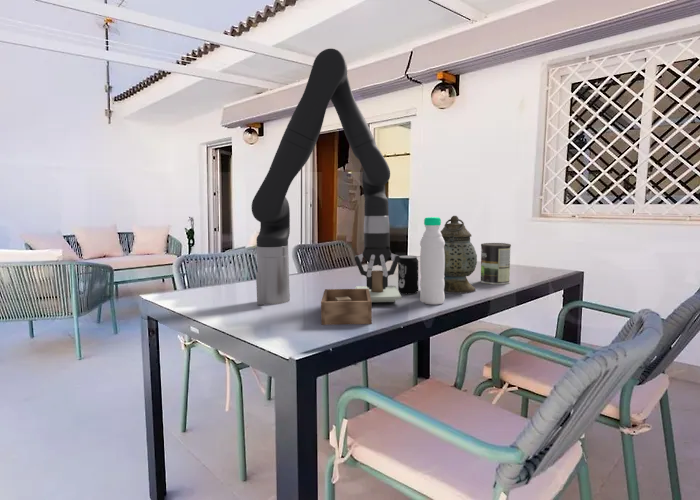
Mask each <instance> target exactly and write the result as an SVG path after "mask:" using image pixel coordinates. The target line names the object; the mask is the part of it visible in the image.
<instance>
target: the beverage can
mask: <svg viewBox="0 0 700 500" xmlns="http://www.w3.org/2000/svg"><path fill="white" fill-rule="evenodd" d="M399 257H400V259H399V261H398V264H397V269H398V270H397V271H398V272H397V276H398V277H397V278H398V279H397V282H398V283H397V284H398V285H397V289H398V291H399V293H400V294H403V295H416V294H417V293H418V292H419V259H418V256H417V255H411V254H410V255H399Z"/></svg>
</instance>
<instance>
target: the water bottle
mask: <svg viewBox="0 0 700 500" xmlns="http://www.w3.org/2000/svg"><path fill="white" fill-rule="evenodd" d="M441 223H442V220H441V218H440V217H439V216H438V217H433V216H431V217H424V220H423V224H424V227H425V230H424V232H423V235H422V237H421V238H420V241H419V242H420V243H419V245H420V258H419V259H420V261H419V263H420V264H419V266H420V270H419V273H420V282H419V286H420V293H419V300H420V302H422V304H424V305H431V306H437V305H438V306H439V305H441V304H443V303H444V302H445V293H444V286H445V282H444V277H445V276H444V270H445V253H444V246H445V241H444V239H443V237H442V234H441V232H440V231H441V230H440V228H441Z"/></svg>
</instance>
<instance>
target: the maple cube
mask: <svg viewBox="0 0 700 500" xmlns="http://www.w3.org/2000/svg"><path fill="white" fill-rule="evenodd" d="M335 301H351V298H349V297H348V296H347V297H335Z"/></svg>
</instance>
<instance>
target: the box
mask: <svg viewBox="0 0 700 500" xmlns="http://www.w3.org/2000/svg"><path fill="white" fill-rule="evenodd" d="M347 296H348V297H349V298H351V301H335V297H347ZM321 298H322V299H321V300H320V315H321V316H320V318H321V319H320V321H321V323H320V324H321V325H322V326H327V325H328V326H329V325H331V326H332V325H372V324H373V322H372V321H373V314H372V313H373V312H372V311H373V308H372V307H373V306H372V305H373V304H372V303H373V302H372V301H371V297H370V292H369V289H356V288H329V289H324V291H323V294H322V297H321Z"/></svg>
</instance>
